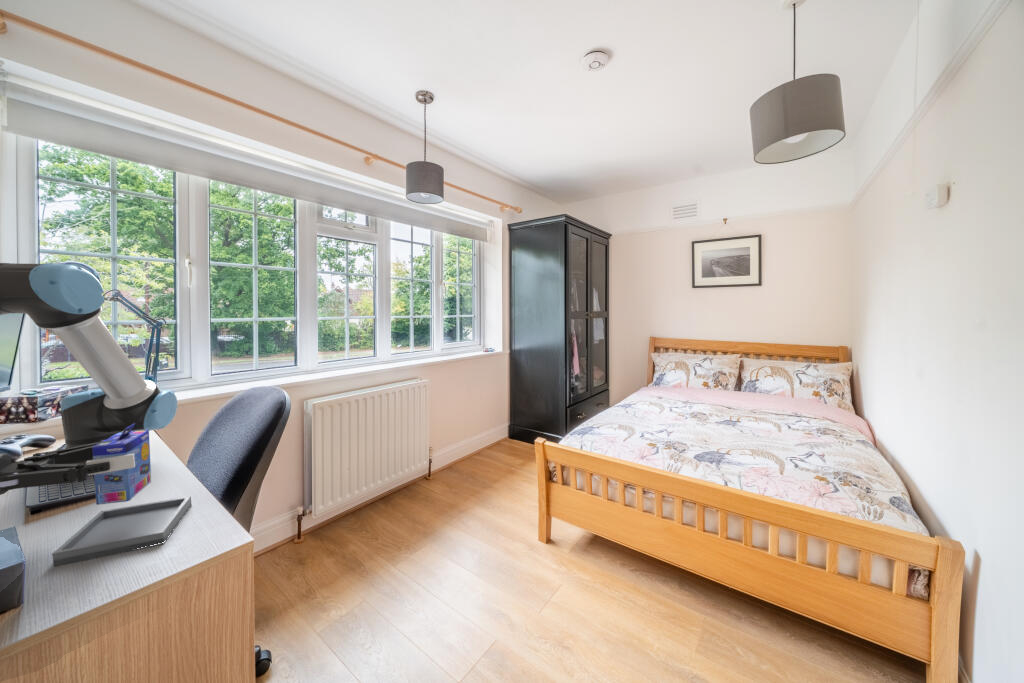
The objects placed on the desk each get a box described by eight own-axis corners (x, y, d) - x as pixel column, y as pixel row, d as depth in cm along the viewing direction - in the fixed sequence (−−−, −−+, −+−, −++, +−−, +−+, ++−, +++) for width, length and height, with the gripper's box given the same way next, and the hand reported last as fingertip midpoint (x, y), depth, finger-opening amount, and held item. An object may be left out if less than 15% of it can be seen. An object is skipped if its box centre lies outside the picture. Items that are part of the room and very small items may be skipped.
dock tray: (102, 521, 85) (101, 511, 85) (191, 505, 92) (190, 496, 91) (53, 566, 70) (52, 553, 70) (164, 543, 77) (163, 532, 77)
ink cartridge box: (131, 501, 77) (124, 432, 75) (94, 507, 74) (87, 436, 73) (154, 480, 86) (148, 418, 84) (122, 485, 83) (115, 421, 82)
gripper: (7, 475, 78) (153, 451, 90) (-69, 529, 59) (128, 489, 72) (3, 440, 77) (150, 421, 90) (-77, 483, 58) (124, 451, 71)
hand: (140, 451), depth 81 cm, fingers closed on ink cartridge box, 10 cm apart
